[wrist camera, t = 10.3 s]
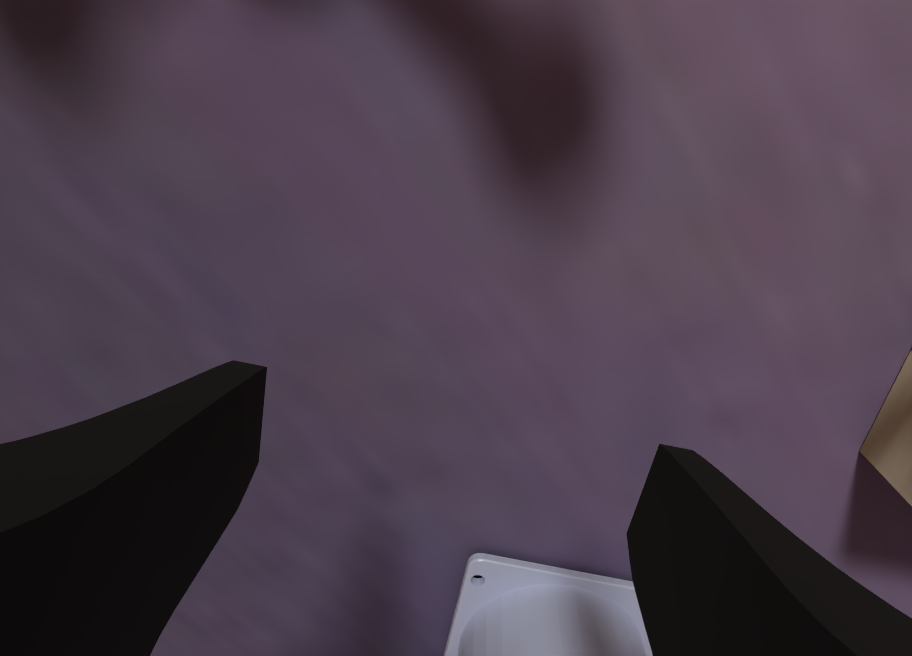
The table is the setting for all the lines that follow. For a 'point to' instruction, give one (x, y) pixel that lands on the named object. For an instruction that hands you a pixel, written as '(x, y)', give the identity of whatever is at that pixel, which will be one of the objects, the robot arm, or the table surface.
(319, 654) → the table surface
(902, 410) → the wooden block
